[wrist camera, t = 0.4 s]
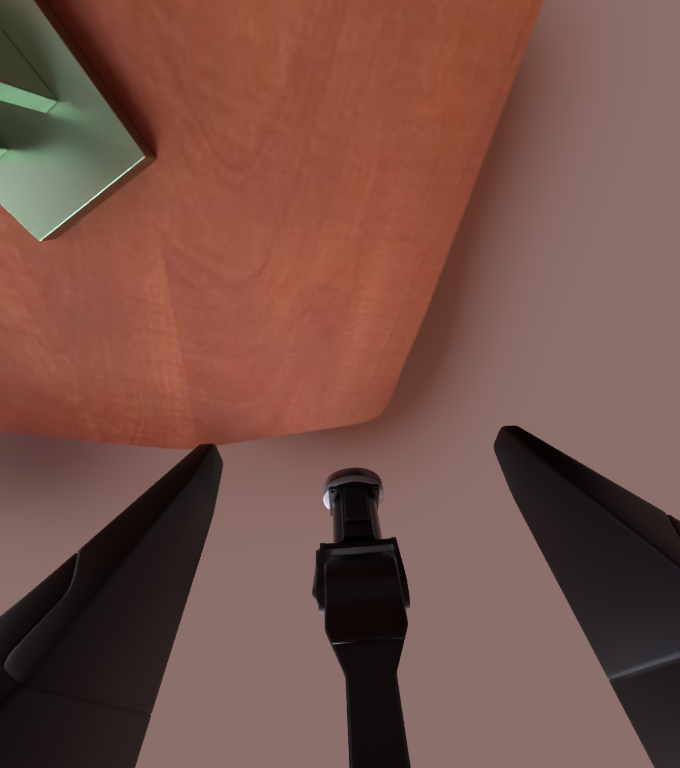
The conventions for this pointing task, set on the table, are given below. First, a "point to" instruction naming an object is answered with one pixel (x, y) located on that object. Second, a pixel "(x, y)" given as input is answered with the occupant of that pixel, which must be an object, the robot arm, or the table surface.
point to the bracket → (57, 125)
